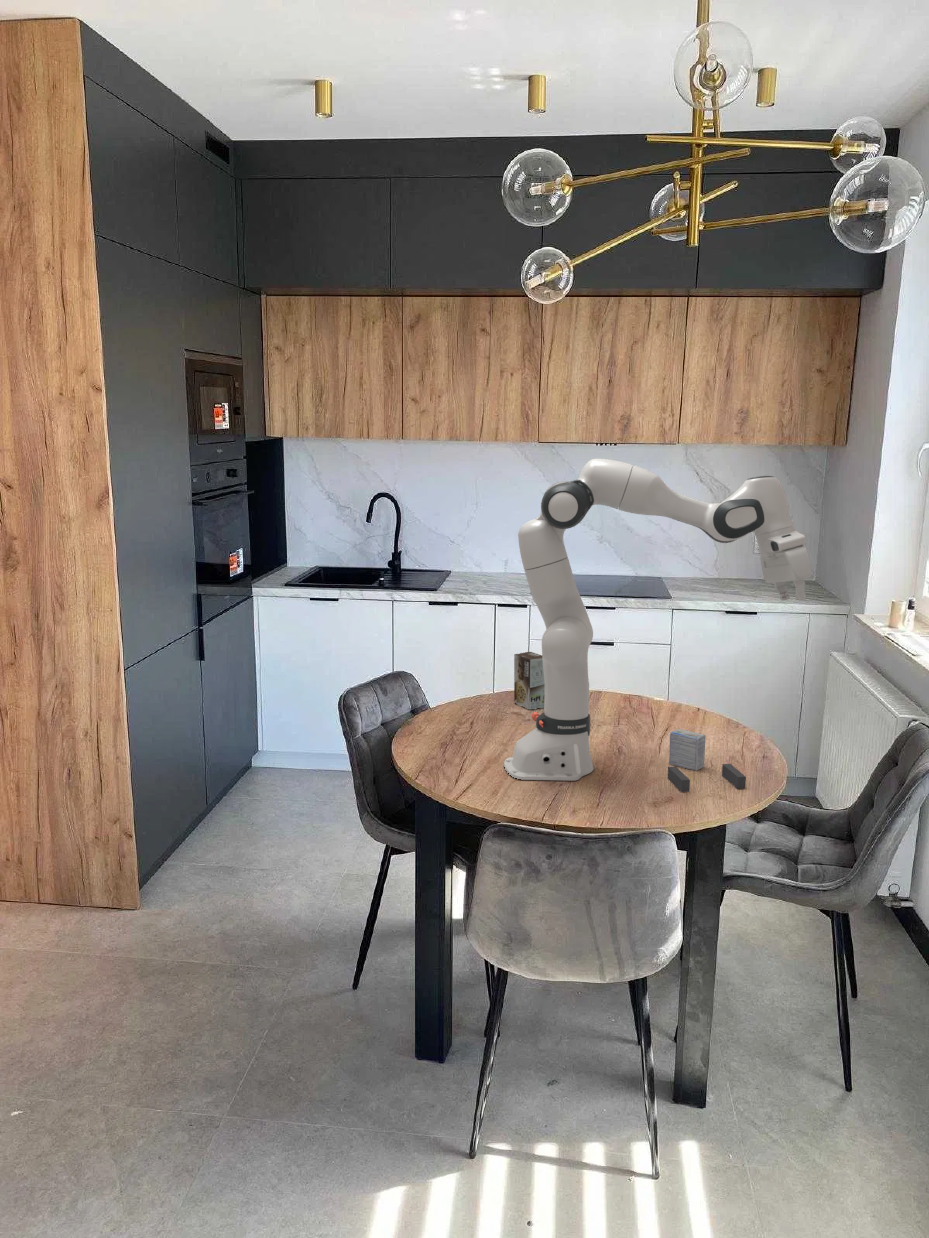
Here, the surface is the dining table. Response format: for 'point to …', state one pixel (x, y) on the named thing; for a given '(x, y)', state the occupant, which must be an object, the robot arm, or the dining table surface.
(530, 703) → the coffee box
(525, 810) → the dining table surface
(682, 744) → the medicine box
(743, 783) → the grey blocks
